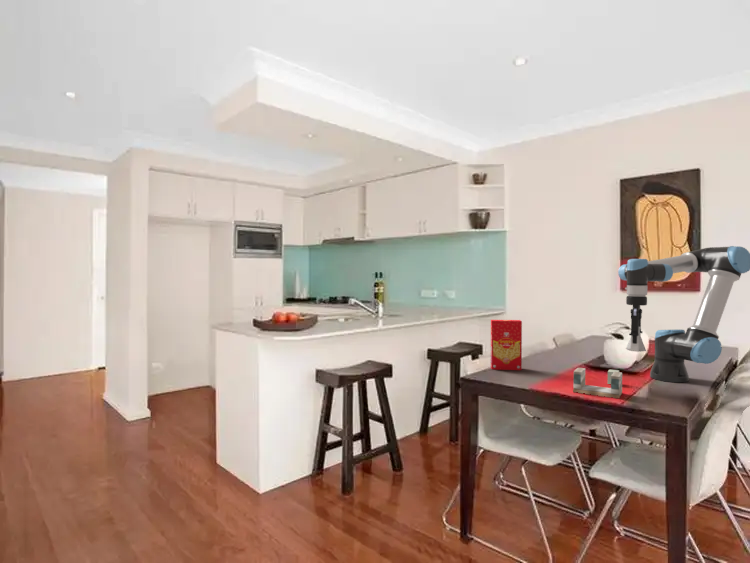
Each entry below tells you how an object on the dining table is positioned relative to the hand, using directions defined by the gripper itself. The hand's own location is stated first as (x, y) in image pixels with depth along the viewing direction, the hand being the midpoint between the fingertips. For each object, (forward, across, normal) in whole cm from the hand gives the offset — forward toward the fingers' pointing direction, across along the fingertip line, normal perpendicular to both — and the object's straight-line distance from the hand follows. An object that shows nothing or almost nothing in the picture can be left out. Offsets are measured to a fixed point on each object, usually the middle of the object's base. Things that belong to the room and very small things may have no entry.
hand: (635, 349), depth 190 cm
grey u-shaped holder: (+17, +12, -12) cm, 25 cm away
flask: (+1, 0, 0) cm, 1 cm away
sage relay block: (+17, -7, -9) cm, 21 cm away
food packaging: (+18, -11, -59) cm, 63 cm away
